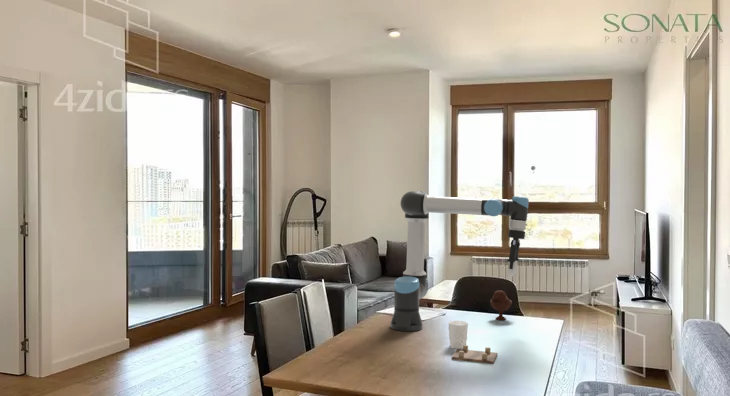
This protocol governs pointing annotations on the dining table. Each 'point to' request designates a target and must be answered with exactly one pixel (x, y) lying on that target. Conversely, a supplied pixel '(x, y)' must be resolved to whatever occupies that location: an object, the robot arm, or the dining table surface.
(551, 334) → the dining table surface
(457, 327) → the white cup
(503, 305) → the ice cream bowl
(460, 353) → the holder
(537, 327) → the dining table surface
